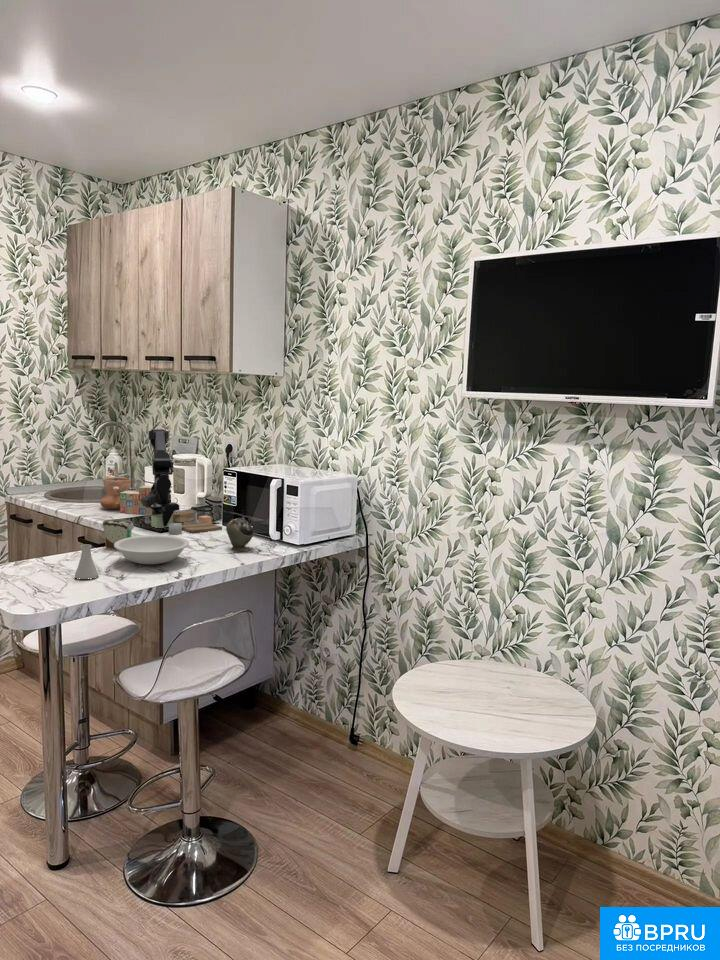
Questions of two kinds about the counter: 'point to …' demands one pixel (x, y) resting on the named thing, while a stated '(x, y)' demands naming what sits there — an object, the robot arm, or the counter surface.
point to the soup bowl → (151, 548)
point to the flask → (86, 564)
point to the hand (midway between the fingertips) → (161, 524)
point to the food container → (116, 531)
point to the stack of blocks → (135, 501)
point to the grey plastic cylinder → (175, 528)
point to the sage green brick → (159, 521)
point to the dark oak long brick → (183, 516)
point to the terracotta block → (204, 519)
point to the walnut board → (200, 527)
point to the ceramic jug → (114, 491)
